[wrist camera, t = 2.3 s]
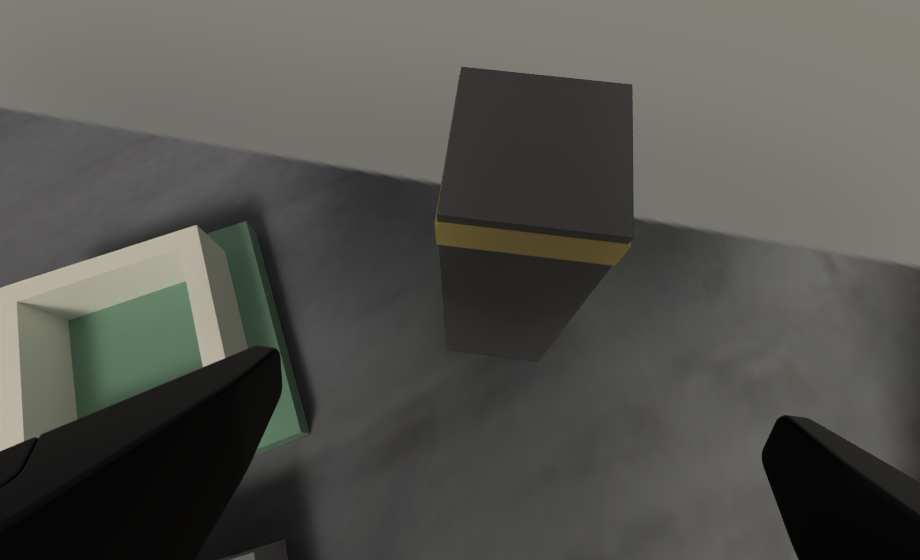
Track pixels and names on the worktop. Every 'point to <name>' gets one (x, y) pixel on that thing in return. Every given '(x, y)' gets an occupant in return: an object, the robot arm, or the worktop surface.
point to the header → (137, 329)
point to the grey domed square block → (263, 552)
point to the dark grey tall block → (530, 206)
